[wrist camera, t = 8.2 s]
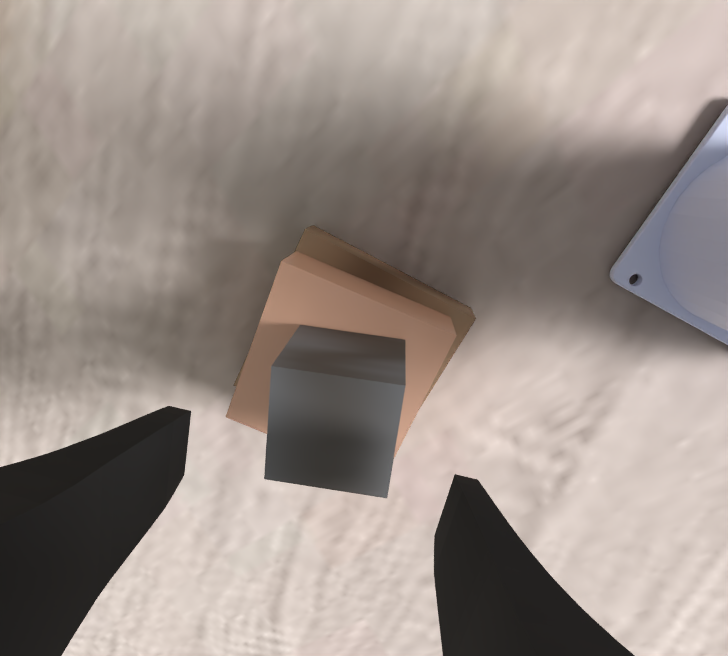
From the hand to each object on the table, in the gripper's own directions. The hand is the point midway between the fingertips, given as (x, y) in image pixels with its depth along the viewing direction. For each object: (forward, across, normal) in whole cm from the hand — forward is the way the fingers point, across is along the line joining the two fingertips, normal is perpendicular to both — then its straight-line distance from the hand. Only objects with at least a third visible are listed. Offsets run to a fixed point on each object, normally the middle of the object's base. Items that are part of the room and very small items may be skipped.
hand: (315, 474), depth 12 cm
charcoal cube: (+6, 0, 0) cm, 6 cm away
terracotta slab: (+9, 0, 0) cm, 9 cm away
